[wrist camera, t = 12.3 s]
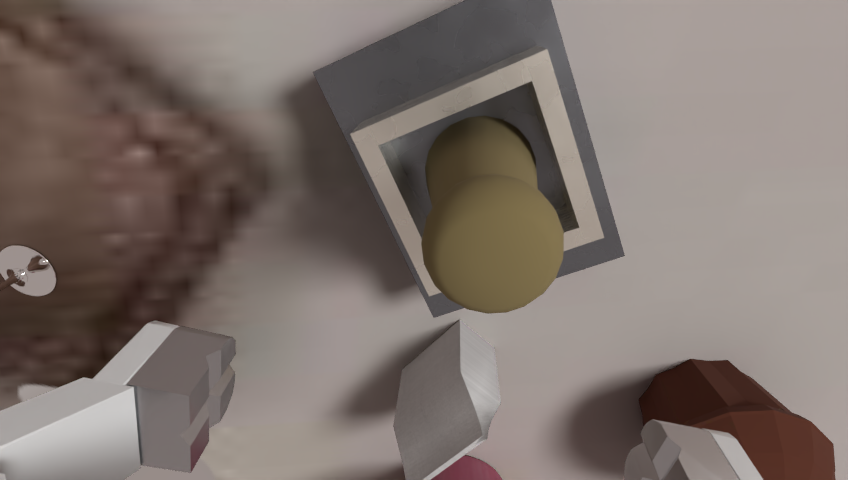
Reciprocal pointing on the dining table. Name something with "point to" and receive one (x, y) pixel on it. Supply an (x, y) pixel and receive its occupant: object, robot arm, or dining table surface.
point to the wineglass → (26, 271)
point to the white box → (446, 402)
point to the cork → (488, 218)
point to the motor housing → (470, 97)
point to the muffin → (741, 418)
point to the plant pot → (468, 470)
